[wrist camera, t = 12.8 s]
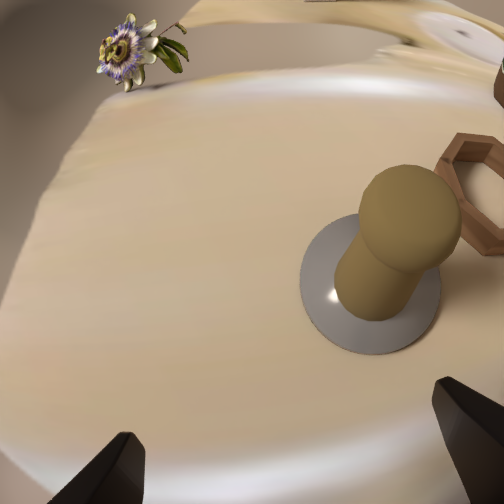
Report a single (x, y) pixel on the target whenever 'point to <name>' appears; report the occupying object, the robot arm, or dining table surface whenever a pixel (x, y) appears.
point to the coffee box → (317, 0)
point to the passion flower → (137, 52)
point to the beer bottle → (499, 85)
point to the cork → (397, 241)
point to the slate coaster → (342, 321)
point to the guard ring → (473, 221)
